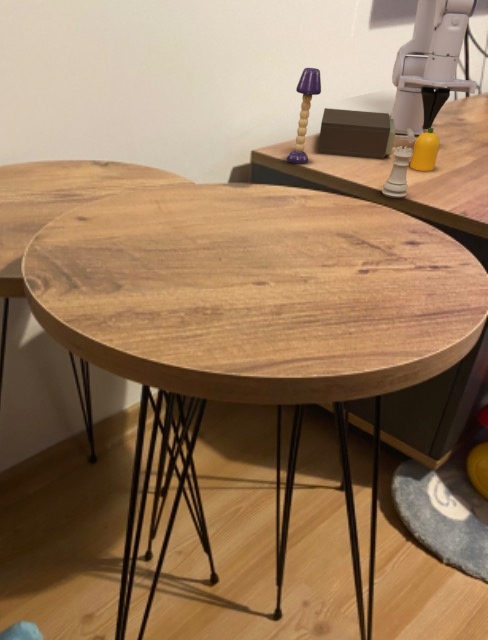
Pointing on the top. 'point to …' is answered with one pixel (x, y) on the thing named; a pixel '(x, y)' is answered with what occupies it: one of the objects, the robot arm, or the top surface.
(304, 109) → the toy lamp
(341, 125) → the cabinet
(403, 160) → the rook chess piece
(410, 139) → the drawer
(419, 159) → the pepper
